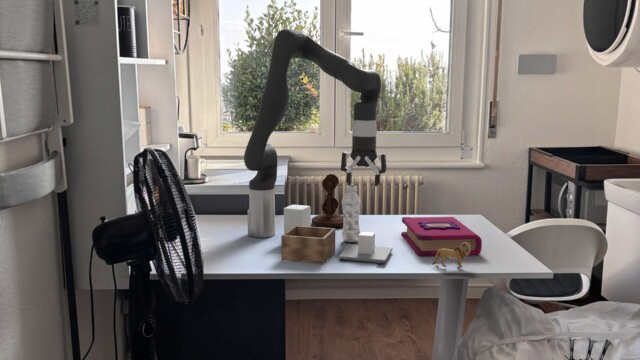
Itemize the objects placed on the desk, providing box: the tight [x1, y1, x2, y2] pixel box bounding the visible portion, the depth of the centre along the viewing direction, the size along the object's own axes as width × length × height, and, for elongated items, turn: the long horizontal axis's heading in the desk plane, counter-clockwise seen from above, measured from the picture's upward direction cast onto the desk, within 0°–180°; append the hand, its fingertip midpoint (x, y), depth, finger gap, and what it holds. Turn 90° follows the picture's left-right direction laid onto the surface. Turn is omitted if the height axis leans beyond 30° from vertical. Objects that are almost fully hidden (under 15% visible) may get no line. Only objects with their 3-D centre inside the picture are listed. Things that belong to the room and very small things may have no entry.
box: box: [280, 226, 336, 265], centre depth 197 cm, size 14×14×8 cm
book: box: [400, 216, 483, 258], centre depth 212 cm, size 21×28×8 cm
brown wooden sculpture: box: [311, 173, 344, 229], centre depth 238 cm, size 15×15×20 cm
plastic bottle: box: [341, 184, 362, 243], centre depth 213 cm, size 6×7×20 cm
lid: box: [338, 231, 393, 265], centre depth 197 cm, size 15×15×8 cm
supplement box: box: [283, 204, 312, 234], centre depth 214 cm, size 7×7×13 cm
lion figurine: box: [431, 242, 471, 268], centre depth 187 cm, size 12×4×7 cm, turn 93°
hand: (363, 185), depth 194 cm, fingers open, 8 cm apart
